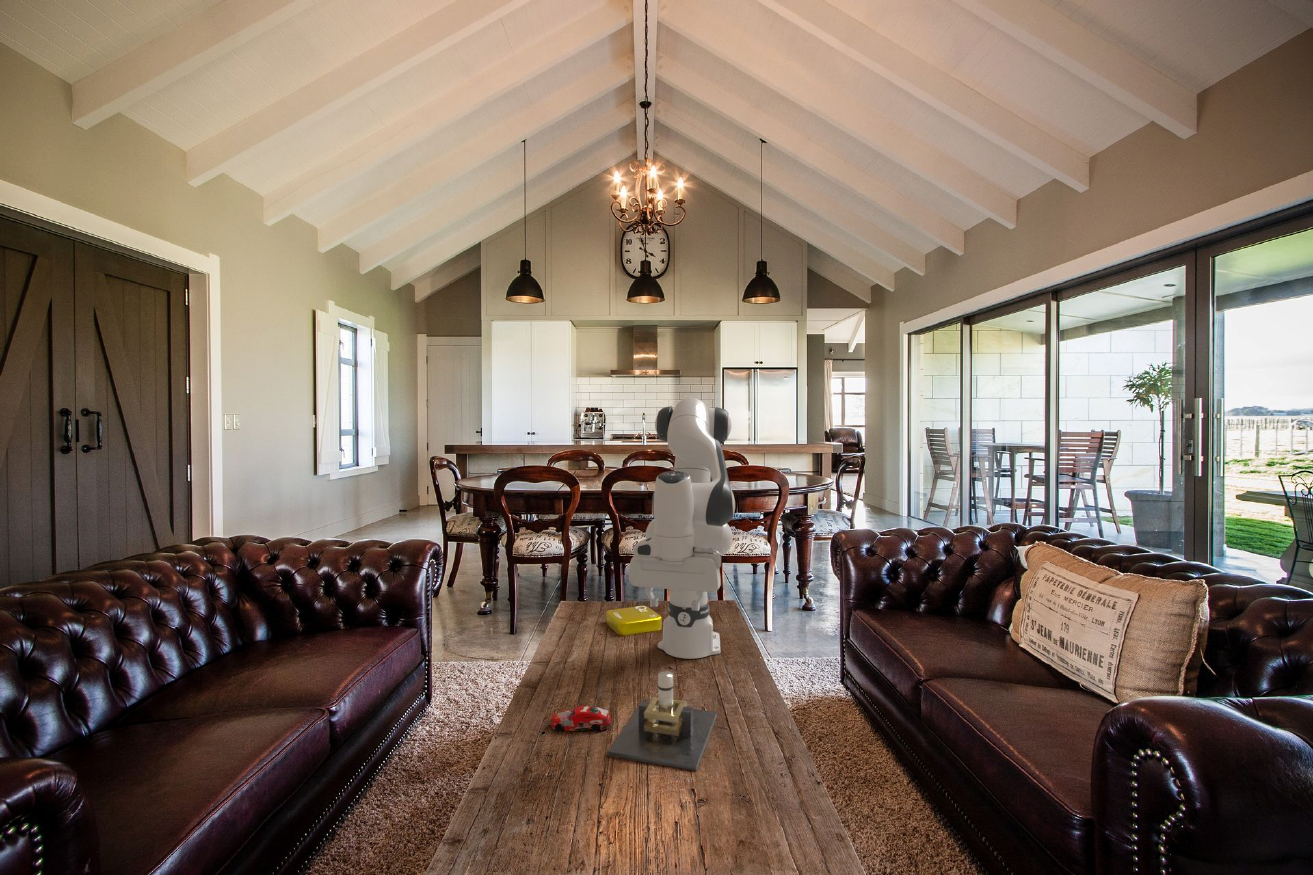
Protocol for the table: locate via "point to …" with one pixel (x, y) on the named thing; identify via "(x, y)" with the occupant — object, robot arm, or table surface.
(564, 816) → the table surface
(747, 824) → the table surface
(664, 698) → the metal tube
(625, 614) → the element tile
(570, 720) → the race car
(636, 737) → the collar stand
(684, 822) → the table surface
